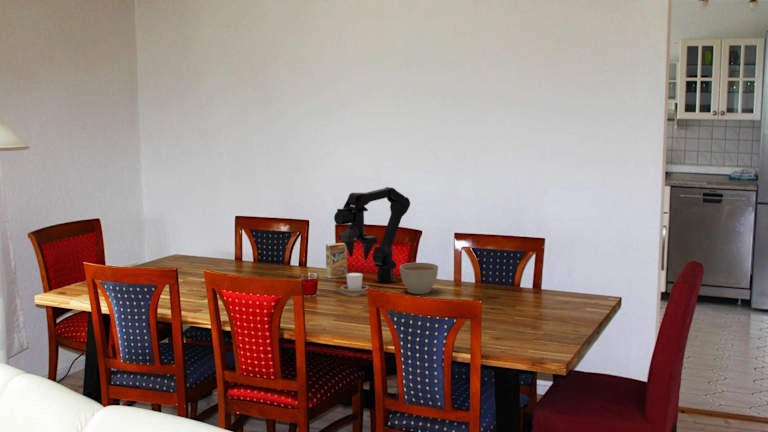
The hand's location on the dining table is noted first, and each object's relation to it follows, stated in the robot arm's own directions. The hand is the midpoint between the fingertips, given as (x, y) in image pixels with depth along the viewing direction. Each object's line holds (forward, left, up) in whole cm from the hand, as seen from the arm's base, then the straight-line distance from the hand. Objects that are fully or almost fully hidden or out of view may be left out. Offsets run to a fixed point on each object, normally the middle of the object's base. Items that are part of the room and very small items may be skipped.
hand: (358, 258), depth 352 cm
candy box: (-5, -22, -13) cm, 26 cm away
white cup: (+9, +7, -12) cm, 16 cm away
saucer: (+9, +7, -13) cm, 17 cm away
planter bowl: (-12, +24, -13) cm, 30 cm away
